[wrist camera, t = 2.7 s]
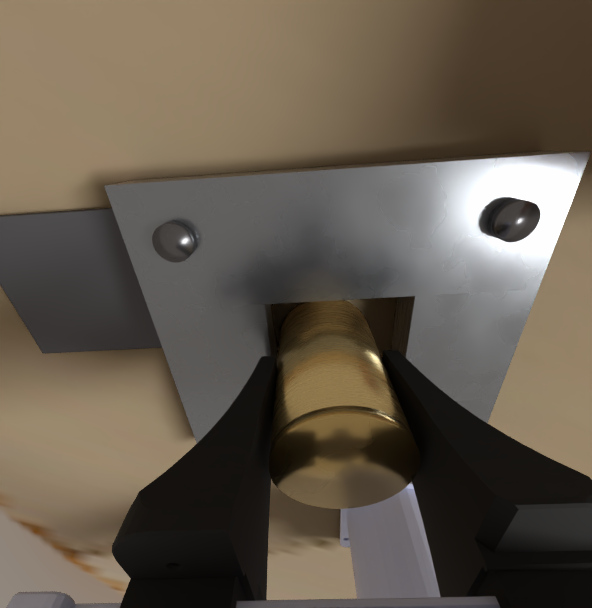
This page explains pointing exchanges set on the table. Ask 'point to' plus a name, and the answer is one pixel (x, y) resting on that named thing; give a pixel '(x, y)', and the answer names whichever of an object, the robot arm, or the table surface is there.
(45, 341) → the mat
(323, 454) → the brass cylinder
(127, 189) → the housing
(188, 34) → the table surface
